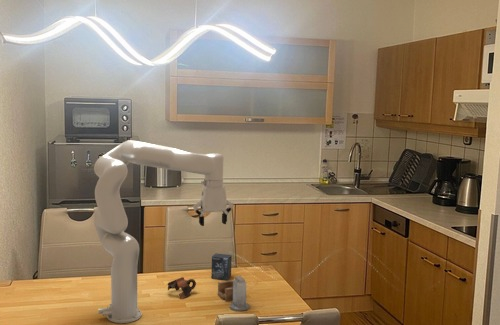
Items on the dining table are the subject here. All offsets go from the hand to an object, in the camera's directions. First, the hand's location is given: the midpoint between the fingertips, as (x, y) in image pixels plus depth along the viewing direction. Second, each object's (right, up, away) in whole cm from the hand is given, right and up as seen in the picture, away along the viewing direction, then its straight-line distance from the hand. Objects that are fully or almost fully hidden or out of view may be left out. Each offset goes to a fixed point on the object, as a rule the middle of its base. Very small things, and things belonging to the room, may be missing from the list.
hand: (213, 224), depth 216 cm
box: (+2, -28, +25) cm, 37 cm away
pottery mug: (-13, -30, +4) cm, 33 cm away
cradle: (+7, -30, +3) cm, 31 cm away
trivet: (+11, -32, -8) cm, 35 cm away
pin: (+11, -31, -8) cm, 34 cm away
